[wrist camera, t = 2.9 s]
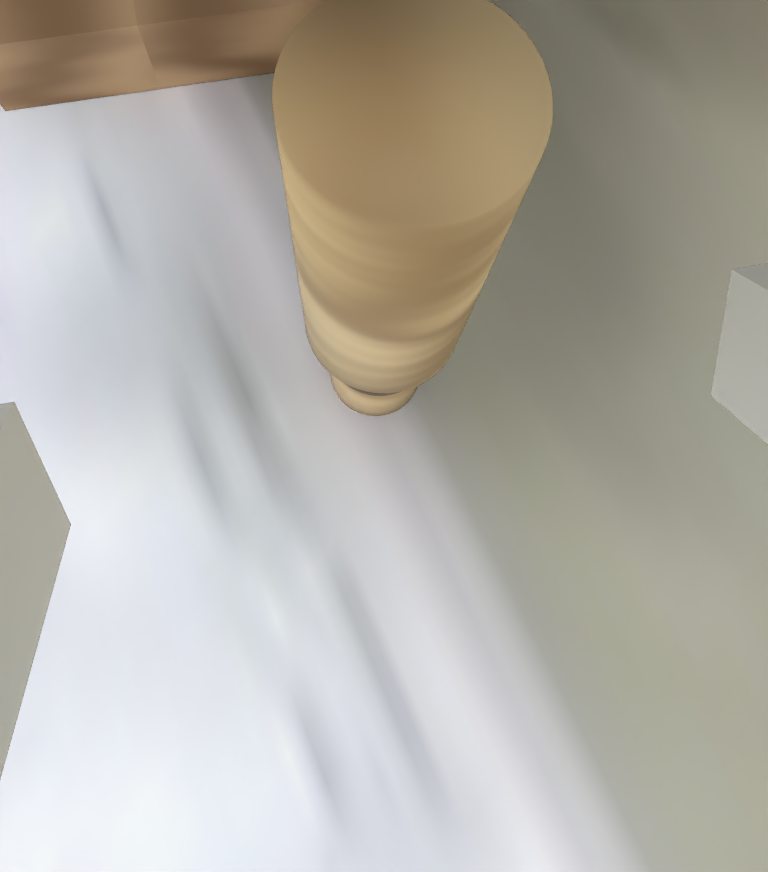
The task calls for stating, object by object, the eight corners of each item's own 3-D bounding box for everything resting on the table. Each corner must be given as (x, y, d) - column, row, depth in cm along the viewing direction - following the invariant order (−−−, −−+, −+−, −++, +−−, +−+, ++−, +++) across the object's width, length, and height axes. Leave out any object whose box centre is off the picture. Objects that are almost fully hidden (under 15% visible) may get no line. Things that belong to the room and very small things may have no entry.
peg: (422, 304, 25) (515, -39, 11) (448, 420, 24) (584, 201, 11) (302, 325, 25) (250, -3, 11) (325, 444, 24) (300, 248, 10)
